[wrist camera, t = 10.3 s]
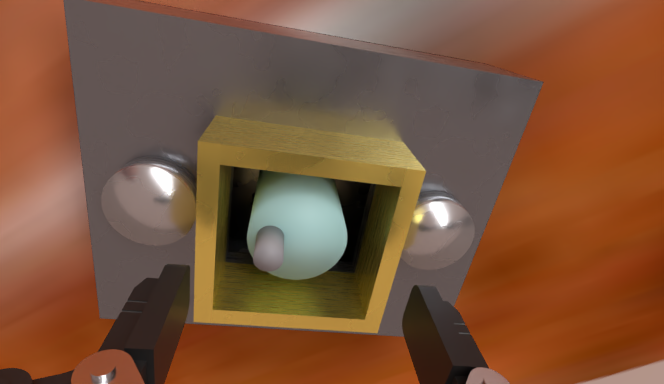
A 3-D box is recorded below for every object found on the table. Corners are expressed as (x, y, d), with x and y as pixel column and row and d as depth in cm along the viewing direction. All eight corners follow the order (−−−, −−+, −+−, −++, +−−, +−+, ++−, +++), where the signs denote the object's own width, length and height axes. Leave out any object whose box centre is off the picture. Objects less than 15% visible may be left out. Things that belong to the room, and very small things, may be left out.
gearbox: (484, 63, 23) (598, 99, 14) (414, 277, 29) (462, 388, 21) (126, -2, 20) (-3, -6, 11) (139, 254, 26) (65, 373, 18)
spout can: (337, 140, 23) (362, 221, 15) (324, 203, 25) (341, 307, 17) (264, 130, 23) (247, 208, 14) (257, 195, 25) (238, 300, 16)
